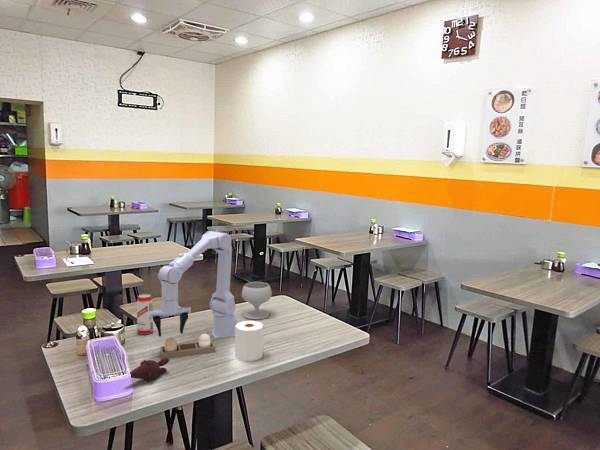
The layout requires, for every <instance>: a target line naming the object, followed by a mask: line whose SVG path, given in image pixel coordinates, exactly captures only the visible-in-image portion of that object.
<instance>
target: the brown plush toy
mask: <svg viewBox="0 0 600 450" xmlns="http://www.w3.org/2000/svg"><path fill="white" fill-rule="evenodd" d="M169 362H170V358H169V359H168V358H163V359H161V358H160V360H159V361H158V362H157V361H155V360H154V359H147V360H145V359H144V360H143V361H141V362H140V364H139V366H137V367H135V368H134V369H133V370H131V371H129V373H130V374H131V378H130V379H140V380H143V381H145V382H147V383H149V382H150V381H151V380H155V379H156V378H157V377H158V375H161V374H163V373H167V368H166V367H163V366H166V365H168V363H169Z"/></svg>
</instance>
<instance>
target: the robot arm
mask: <svg viewBox="0 0 600 450" xmlns="http://www.w3.org/2000/svg"><path fill="white" fill-rule="evenodd" d="M209 249H212V250H214V251H215V252H216V253H217V254H218V255H217V256H218V257H217V271H216V288H215V289H216V291H214V292H213V293H212V294H211V299H210V301H209V309H210V310H211V311H212V314H213V330H211V334H212V335H213V337H214V338H215V339H218V338H219V339H220V338H226V337H227V338H228V337H235V326H236V324H237V323H238V316H237V313H236V312H235V310H236V303H235V296H234V294H232V292H231V291H230V290H231V274H232V273H231V272H232V257H233V256H232V255H233V247H232V237H231V236H230V234H228V233H226V232H220V231H214V230H207V231H206V232H205V233H204V234H203V235H202V236H201V239H200V240H199V241H198V242H196V244H195V245H194V246H193V247H191V249H190V250H189V251H187V252H181V253H179V254H178V256H177V257H176V258H175V259H174V260H172V261H170V262H169V264H168V265H164V266H162V267H161V268H160V269H159V271H158V273H157V277H158V279H159V281H160V285H161V309H157V310H153V311H150V312H149V317H150V318H153V324H154V325H155V327H156V329H157V333H158V337H159V338H160V337H162V331H161V330H162V328H161V323H162V320H161V317H168V316H177V315H179V333H180V335H182V334H184V328H185V325H186V322H187V321H188V319H189V315H192V311H191V307H190V306H189V307H187V306H186V307H179V282H180V280H181V279H182V276H183V274H184V273H185V272H186V271H187V270H188V269H189V268H190V267H191V266H193V265H194V260H195V259H196V258H198V257H199V256H200V255H202V253H204V252H206V251H207V250H209Z"/></svg>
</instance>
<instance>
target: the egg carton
mask: <svg viewBox="0 0 600 450" xmlns="http://www.w3.org/2000/svg"><path fill="white" fill-rule="evenodd" d="M212 353H216V346H215V344H214V341H213V340H212V339H210V347H206V348H199V341H193V342H187V343H186V342H185V343H177V351H175V352H167V353H165V346H164V345H160V351H159V354H160V360H161V359H163V358H168V359H169V360H170V359H175V358H182V357H190V356H191V357H192V356H198V355H204V354H205V355H206V354H212Z"/></svg>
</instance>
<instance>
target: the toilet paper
mask: <svg viewBox="0 0 600 450" xmlns="http://www.w3.org/2000/svg"><path fill="white" fill-rule="evenodd" d="M263 355H264V324H263V323H262V322H260V321H255V320H243V321H240V322H237V324H236V326H235V336H234V357H235V358H236V359H237V360H238V361H239V360H240V361H244V362H254V361H258V360H260V359H262V357H263Z"/></svg>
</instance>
